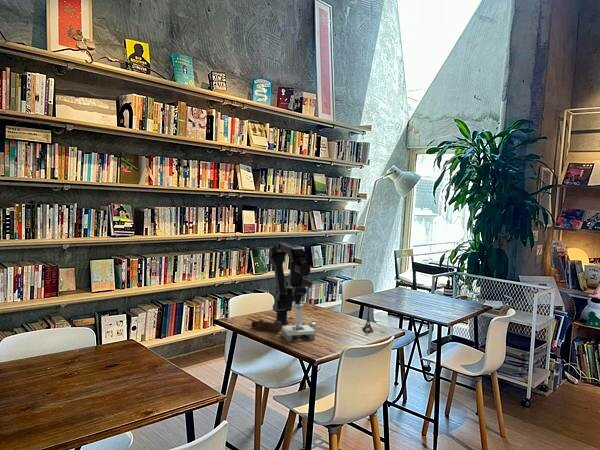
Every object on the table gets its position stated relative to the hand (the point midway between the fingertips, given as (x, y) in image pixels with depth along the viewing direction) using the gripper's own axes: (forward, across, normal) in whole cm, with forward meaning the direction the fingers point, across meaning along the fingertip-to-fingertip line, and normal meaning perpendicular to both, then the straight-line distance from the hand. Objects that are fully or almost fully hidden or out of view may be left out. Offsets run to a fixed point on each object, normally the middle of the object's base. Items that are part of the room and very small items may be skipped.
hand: (294, 304), depth 214 cm
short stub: (+13, -5, -8) cm, 16 cm away
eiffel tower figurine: (+14, -7, -37) cm, 40 cm away
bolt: (+13, +4, +13) cm, 19 cm away
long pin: (+13, -10, +1) cm, 16 cm away
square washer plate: (+13, -10, +1) cm, 16 cm away
